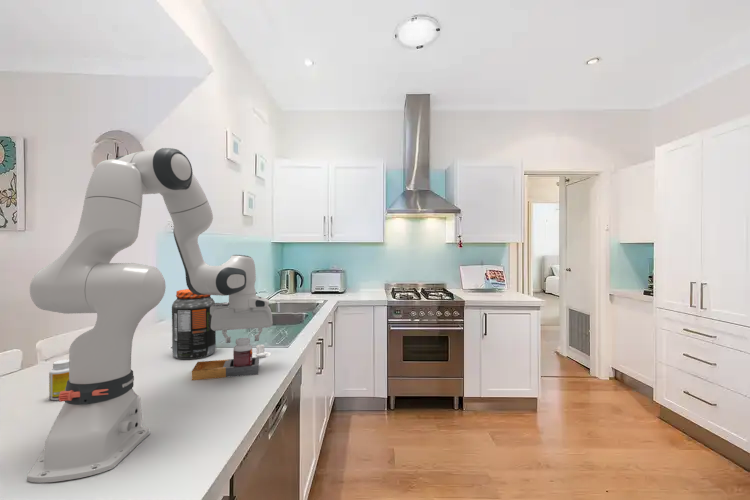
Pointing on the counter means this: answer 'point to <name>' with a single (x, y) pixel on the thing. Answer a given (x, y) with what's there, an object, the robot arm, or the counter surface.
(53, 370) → the supplement bottle
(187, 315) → the supplement tub
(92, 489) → the counter surface
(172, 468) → the counter surface
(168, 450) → the counter surface
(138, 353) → the counter surface
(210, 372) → the rail
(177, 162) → the robot arm
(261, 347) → the white looped piece
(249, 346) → the pill bottle
